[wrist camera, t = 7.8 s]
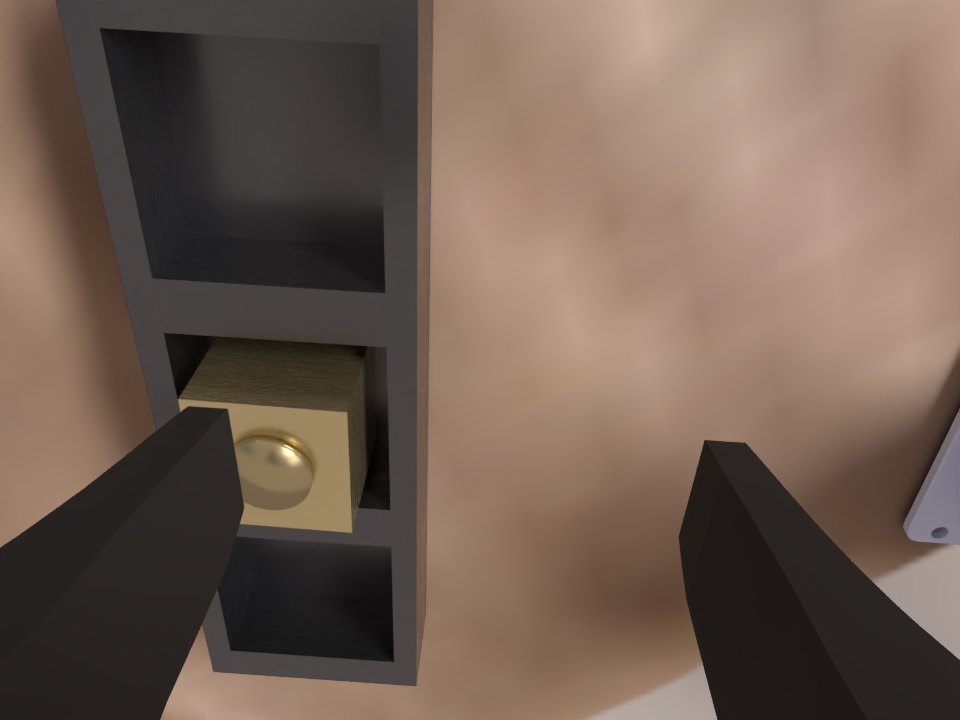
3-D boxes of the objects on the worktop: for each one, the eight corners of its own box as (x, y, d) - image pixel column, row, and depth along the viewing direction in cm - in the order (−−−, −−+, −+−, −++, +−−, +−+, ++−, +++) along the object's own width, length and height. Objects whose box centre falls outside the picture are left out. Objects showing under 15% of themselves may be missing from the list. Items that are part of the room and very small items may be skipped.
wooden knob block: (374, 325, 22) (344, 420, 18) (376, 436, 24) (349, 541, 20) (231, 314, 22) (173, 406, 18) (246, 426, 24) (197, 529, 20)
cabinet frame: (433, -43, 17) (418, -24, 14) (425, 614, 29) (416, 685, 26) (115, -61, 17) (44, -46, 14) (240, 601, 29) (213, 672, 27)
